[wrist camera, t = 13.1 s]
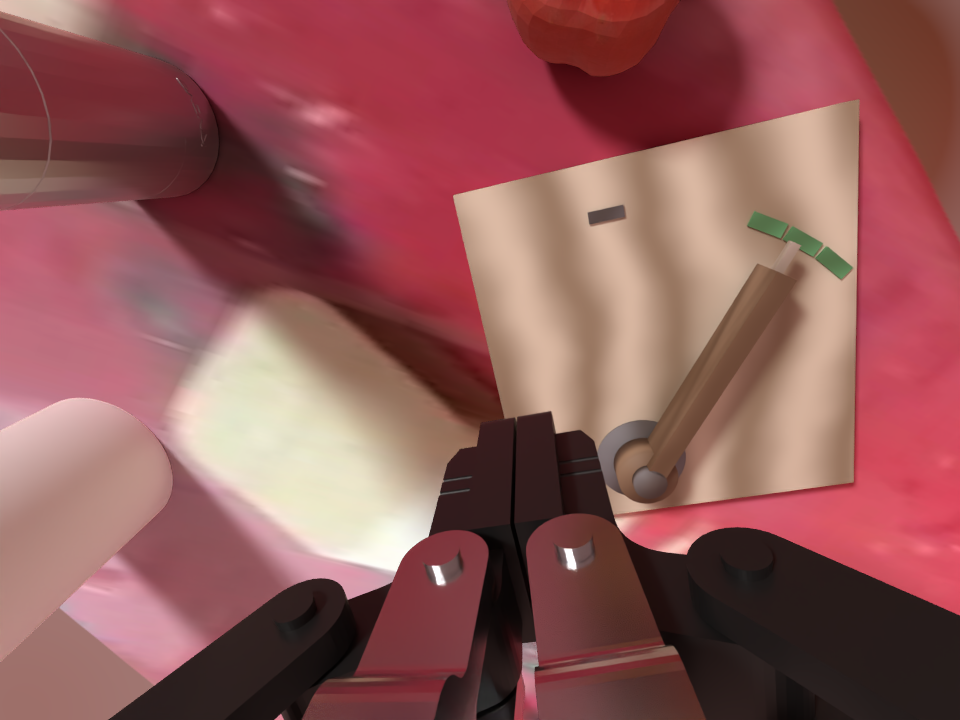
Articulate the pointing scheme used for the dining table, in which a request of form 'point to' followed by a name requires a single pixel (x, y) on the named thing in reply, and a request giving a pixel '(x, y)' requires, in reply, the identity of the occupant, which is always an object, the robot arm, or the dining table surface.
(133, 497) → the canister
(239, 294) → the dining table surface
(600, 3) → the vegetable
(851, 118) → the dial board
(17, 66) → the robot arm
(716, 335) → the dial lever
